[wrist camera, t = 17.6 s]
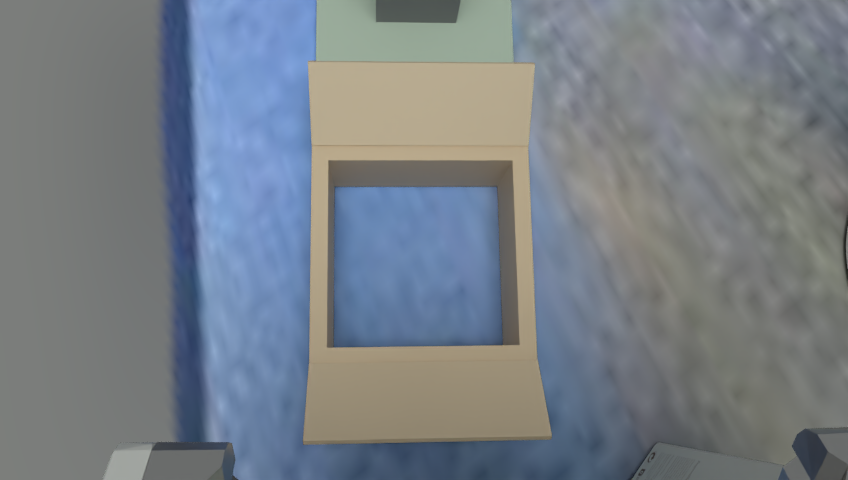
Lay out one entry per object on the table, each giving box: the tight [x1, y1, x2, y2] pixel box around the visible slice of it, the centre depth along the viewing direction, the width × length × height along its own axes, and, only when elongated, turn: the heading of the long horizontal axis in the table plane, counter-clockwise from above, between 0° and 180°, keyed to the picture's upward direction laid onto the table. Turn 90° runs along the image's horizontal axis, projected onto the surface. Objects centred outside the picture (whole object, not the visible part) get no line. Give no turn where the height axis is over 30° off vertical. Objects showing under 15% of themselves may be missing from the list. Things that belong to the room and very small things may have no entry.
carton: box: [303, 61, 552, 445], centre depth 38 cm, size 11×17×7 cm, turn 1°
